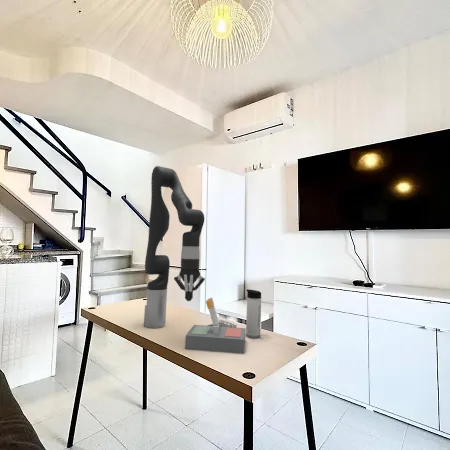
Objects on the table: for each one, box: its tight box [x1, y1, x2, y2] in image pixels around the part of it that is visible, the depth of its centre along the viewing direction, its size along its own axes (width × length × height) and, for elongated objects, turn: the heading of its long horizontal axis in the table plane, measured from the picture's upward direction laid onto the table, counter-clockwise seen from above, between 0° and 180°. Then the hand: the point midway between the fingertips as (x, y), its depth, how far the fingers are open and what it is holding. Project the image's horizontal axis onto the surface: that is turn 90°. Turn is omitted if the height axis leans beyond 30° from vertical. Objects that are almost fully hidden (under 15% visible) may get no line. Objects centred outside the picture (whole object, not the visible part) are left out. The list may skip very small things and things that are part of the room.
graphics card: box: [205, 319, 238, 328], centre depth 128 cm, size 17×4×12 cm
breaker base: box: [184, 320, 246, 354], centre depth 112 cm, size 22×14×8 cm, turn 83°
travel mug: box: [245, 288, 262, 339], centre depth 124 cm, size 6×7×20 cm
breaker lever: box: [205, 297, 220, 326], centre depth 113 cm, size 2×6×11 cm, turn 174°
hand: (188, 300), depth 114 cm, fingers closed
